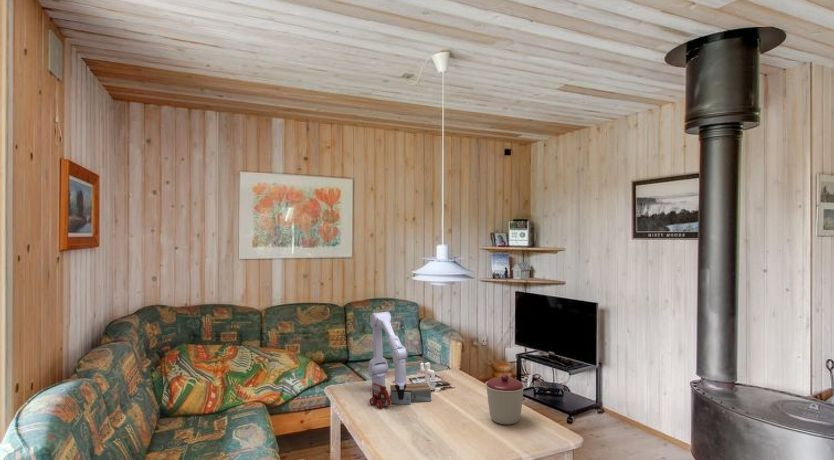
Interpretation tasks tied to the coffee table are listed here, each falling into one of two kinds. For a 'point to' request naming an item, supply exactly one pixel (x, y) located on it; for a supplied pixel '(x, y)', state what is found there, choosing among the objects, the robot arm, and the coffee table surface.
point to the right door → (405, 399)
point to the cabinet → (416, 391)
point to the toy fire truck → (379, 396)
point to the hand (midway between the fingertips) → (400, 399)
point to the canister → (505, 399)
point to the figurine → (428, 374)
